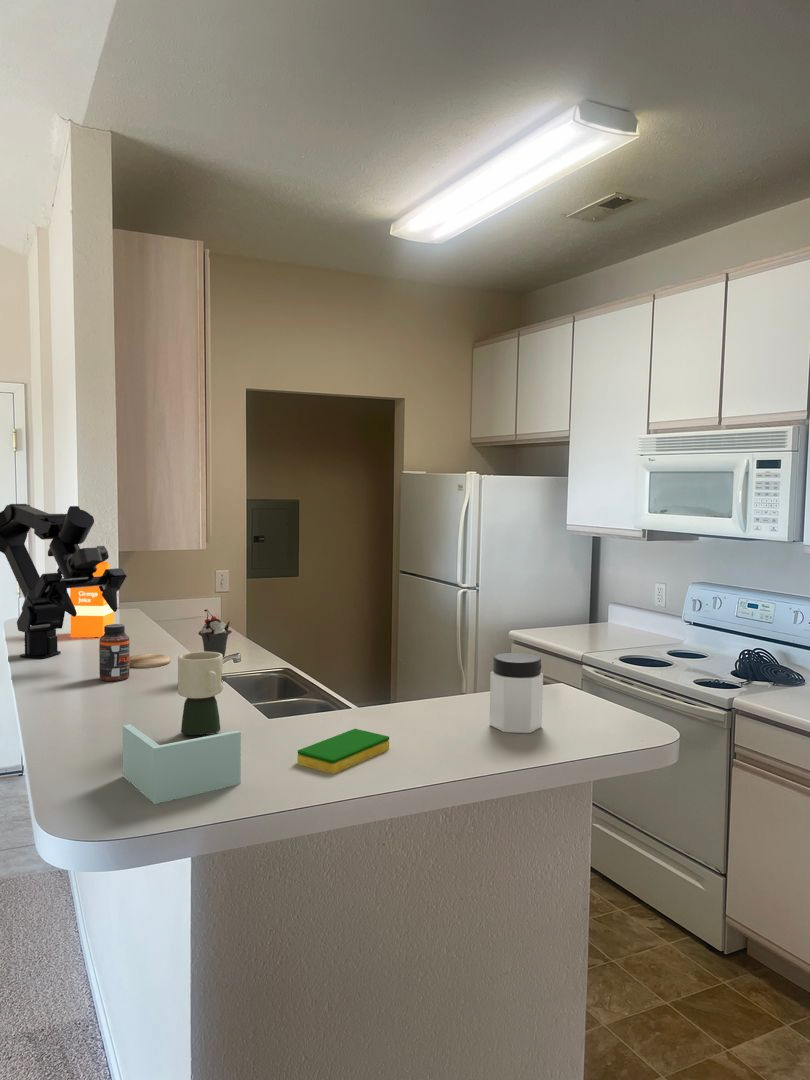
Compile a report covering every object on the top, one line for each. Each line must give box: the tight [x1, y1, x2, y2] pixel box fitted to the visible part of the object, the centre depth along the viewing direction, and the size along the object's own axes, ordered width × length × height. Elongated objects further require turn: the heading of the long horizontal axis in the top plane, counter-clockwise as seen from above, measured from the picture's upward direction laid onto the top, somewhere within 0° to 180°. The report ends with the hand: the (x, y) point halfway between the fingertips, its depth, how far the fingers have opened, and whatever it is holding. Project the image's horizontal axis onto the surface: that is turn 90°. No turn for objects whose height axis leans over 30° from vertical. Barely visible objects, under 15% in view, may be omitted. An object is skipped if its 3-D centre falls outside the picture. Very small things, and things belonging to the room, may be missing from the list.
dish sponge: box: [297, 728, 390, 774], centre depth 120 cm, size 7×14×2 cm, turn 145°
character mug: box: [177, 651, 224, 736], centre depth 130 cm, size 11×7×13 cm, turn 38°
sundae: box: [197, 608, 233, 682], centre depth 167 cm, size 7×7×15 cm
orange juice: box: [69, 561, 115, 638], centre depth 213 cm, size 8×9×20 cm
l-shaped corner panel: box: [122, 724, 242, 805], centre depth 109 cm, size 12×12×8 cm
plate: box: [129, 653, 171, 669], centre depth 181 cm, size 10×10×1 cm
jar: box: [489, 652, 544, 734], centre depth 136 cm, size 9×8×12 cm
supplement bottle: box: [98, 623, 130, 682], centre depth 166 cm, size 6×6×11 cm
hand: (96, 613), depth 170 cm, fingers open, 9 cm apart
